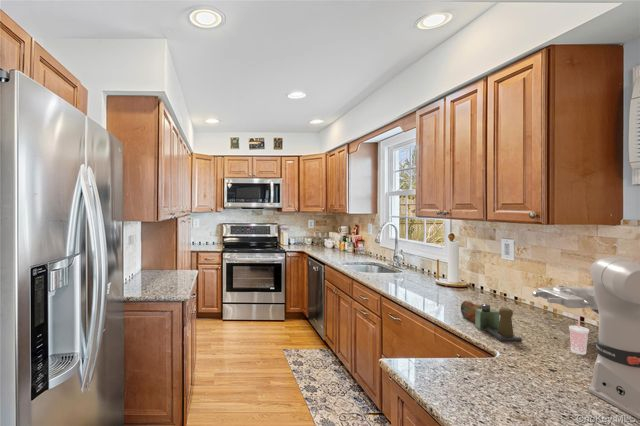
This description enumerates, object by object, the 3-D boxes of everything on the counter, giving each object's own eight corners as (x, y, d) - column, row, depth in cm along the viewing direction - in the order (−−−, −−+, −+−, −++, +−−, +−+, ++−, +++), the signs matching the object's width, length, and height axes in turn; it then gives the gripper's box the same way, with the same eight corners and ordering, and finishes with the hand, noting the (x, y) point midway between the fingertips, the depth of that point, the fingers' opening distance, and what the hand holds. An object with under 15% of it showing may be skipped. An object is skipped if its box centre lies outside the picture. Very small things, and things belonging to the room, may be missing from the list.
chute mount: (521, 341, 140) (521, 316, 139) (495, 341, 139) (496, 316, 139) (498, 326, 157) (498, 303, 157) (475, 326, 157) (475, 303, 157)
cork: (516, 337, 142) (516, 310, 142) (501, 337, 142) (501, 310, 142) (509, 332, 148) (510, 306, 148) (494, 331, 148) (495, 306, 148)
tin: (460, 315, 172) (460, 298, 172) (465, 315, 173) (465, 298, 173) (481, 326, 158) (481, 307, 158) (487, 325, 159) (487, 307, 158)
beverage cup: (579, 356, 126) (579, 318, 126) (564, 349, 133) (565, 312, 132) (593, 354, 128) (593, 317, 127) (577, 348, 134) (578, 311, 133)
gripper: (592, 312, 136) (558, 312, 136) (555, 298, 157) (525, 298, 156) (593, 296, 136) (558, 296, 136) (556, 284, 156) (526, 284, 156)
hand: (540, 297), depth 146 cm, fingers open, 8 cm apart
